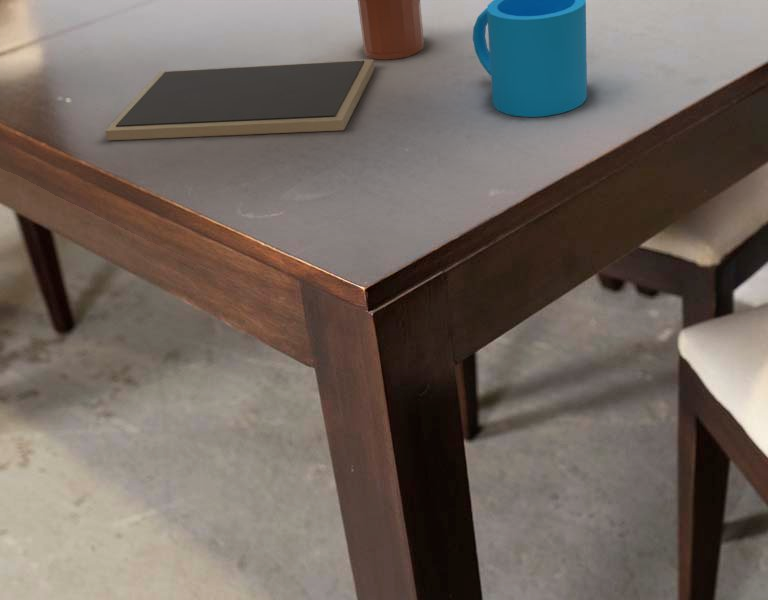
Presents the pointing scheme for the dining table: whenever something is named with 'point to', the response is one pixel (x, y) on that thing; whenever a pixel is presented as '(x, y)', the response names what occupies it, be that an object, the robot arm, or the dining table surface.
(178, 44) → the dining table surface
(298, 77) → the small chalkboard
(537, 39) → the mug
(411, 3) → the pen cup
